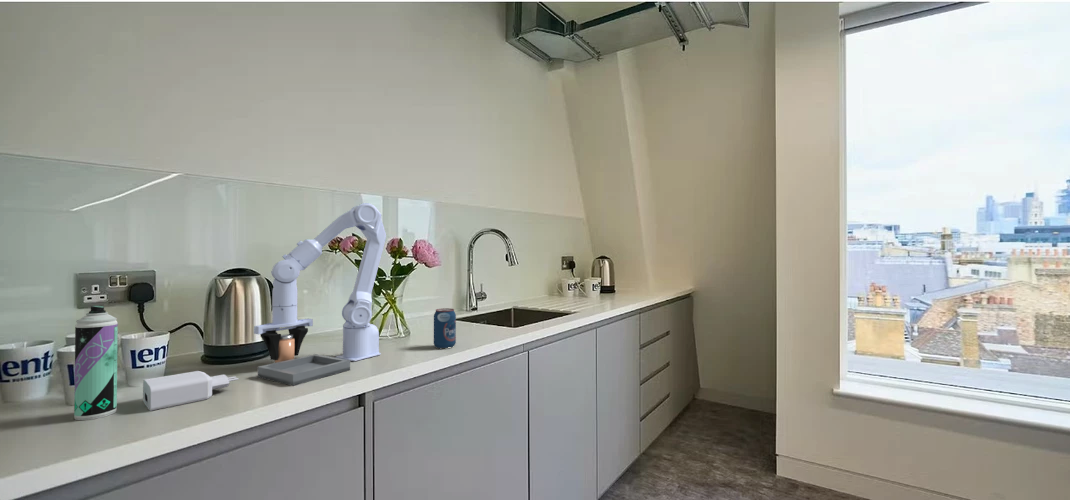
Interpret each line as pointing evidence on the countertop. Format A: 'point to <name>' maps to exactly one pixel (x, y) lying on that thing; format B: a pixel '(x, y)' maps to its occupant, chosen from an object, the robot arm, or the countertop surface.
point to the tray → (303, 369)
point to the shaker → (286, 348)
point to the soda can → (444, 328)
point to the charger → (181, 389)
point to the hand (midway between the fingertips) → (284, 357)
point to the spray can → (95, 365)
